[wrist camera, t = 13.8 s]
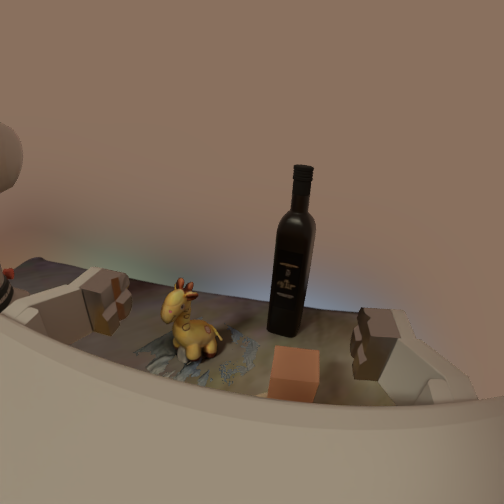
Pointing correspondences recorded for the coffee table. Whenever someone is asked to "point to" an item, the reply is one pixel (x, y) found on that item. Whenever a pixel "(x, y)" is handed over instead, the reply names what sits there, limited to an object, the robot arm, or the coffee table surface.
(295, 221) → the wine bottle
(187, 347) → the stuffed giraffe
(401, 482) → the robot arm
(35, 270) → the coffee table surface
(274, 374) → the pillar
